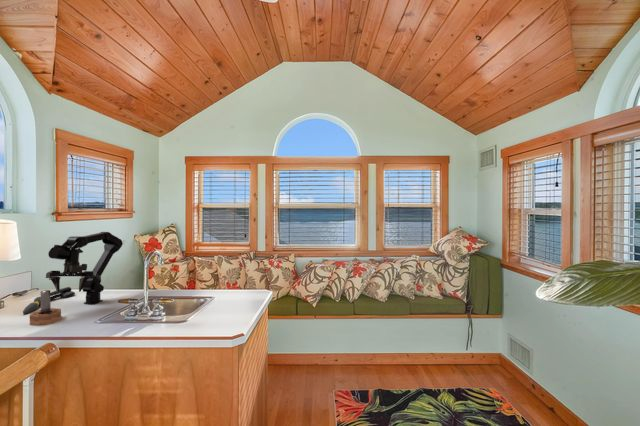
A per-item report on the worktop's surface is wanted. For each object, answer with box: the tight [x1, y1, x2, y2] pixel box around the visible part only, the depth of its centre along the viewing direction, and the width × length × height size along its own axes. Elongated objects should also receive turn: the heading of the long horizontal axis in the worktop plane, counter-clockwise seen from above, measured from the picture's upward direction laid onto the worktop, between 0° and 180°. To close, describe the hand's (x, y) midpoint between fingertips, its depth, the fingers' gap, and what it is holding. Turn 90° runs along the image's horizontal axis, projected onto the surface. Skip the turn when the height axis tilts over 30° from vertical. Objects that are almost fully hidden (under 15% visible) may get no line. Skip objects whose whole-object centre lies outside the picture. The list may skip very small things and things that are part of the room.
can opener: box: [50, 286, 76, 302], centre depth 188 cm, size 18×7×6 cm, turn 161°
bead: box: [29, 307, 62, 326], centre depth 155 cm, size 11×11×4 cm
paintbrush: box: [22, 296, 41, 315], centre depth 172 cm, size 20×5×5 cm, turn 22°
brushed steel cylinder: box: [40, 289, 52, 314], centre depth 155 cm, size 4×4×14 cm
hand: (69, 291), depth 165 cm, fingers open, 9 cm apart
